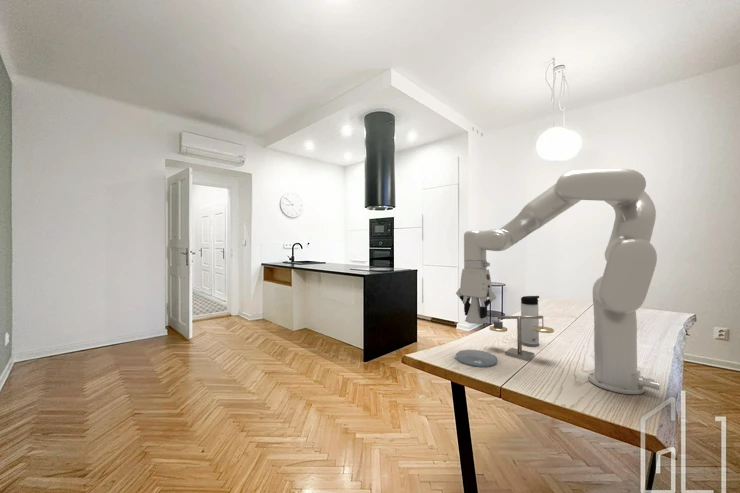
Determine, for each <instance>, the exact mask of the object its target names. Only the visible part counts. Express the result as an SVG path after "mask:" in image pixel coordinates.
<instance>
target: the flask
mask: <svg viewBox="0 0 740 493" xmlns="http://www.w3.org/2000/svg"><path fill="white" fill-rule="evenodd" d="M470 303H471V305H470V308H469V311H468V314H467V315H466V316H465V319H464V322H466V323H468V324H476V325H483V324H486V322H487V321H486V317H485V318H480V307H481V306H482V305H481V301H480V298H475V297H471V298H470Z"/></svg>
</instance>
